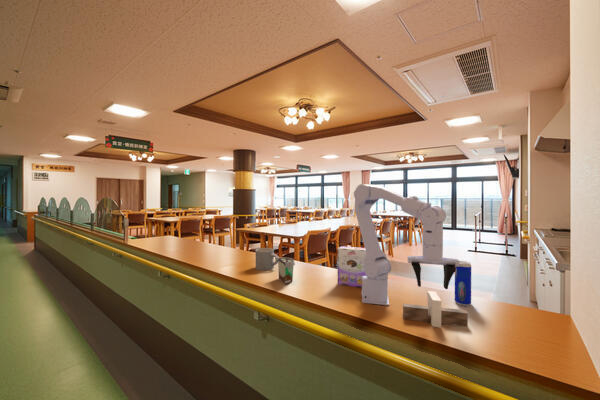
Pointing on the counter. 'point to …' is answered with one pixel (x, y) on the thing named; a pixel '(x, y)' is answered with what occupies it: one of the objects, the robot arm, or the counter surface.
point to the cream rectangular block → (434, 308)
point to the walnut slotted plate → (422, 314)
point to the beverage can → (463, 283)
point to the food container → (285, 269)
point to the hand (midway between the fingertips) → (432, 286)
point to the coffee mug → (265, 259)
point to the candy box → (351, 266)
